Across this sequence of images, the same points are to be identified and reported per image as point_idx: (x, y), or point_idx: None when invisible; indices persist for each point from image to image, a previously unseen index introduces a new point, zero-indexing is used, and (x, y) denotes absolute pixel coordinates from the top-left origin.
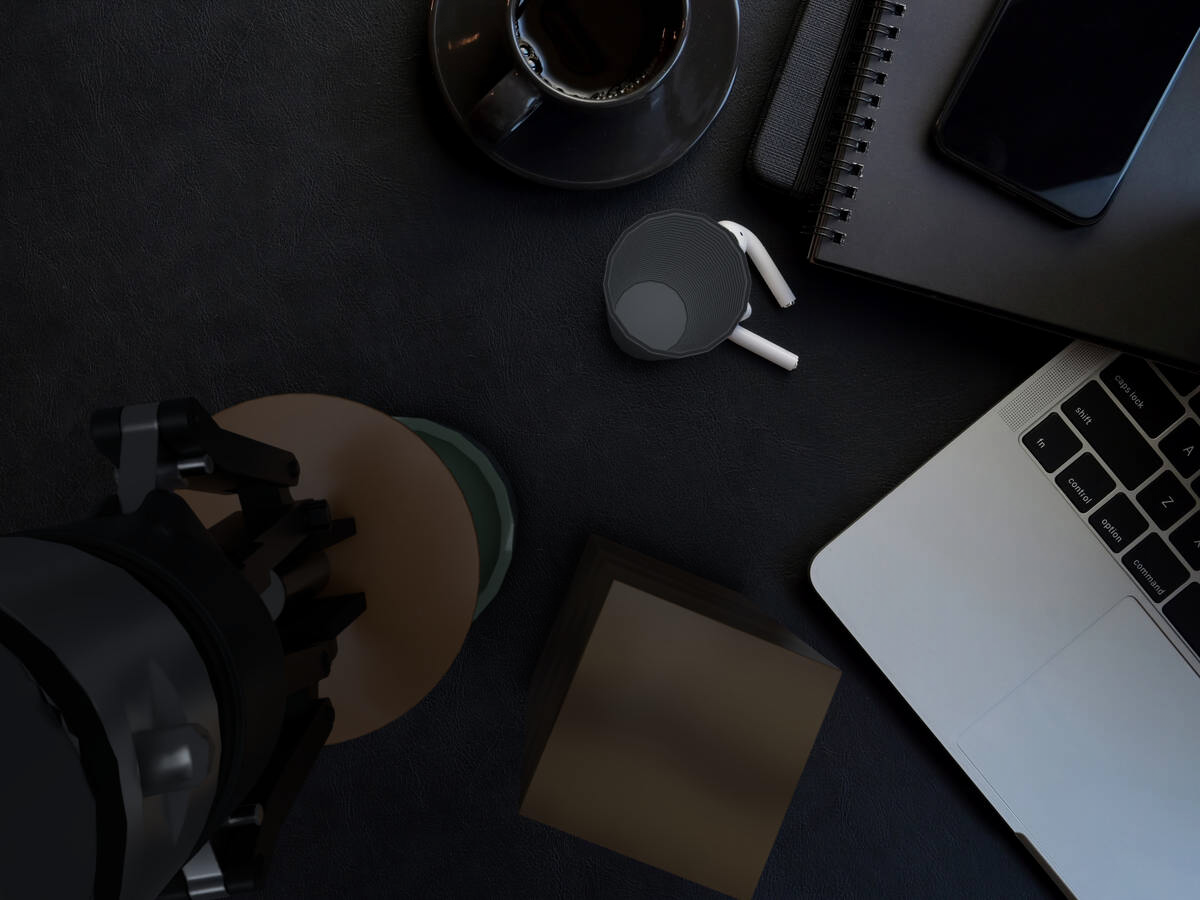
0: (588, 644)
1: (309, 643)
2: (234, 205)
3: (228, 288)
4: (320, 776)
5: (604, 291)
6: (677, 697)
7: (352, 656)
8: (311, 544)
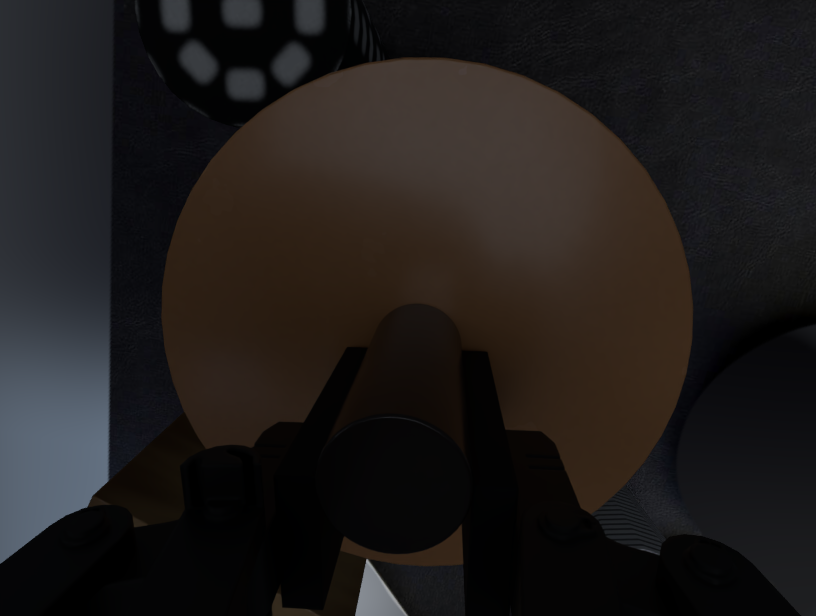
0: (281, 597)
1: (277, 584)
2: (768, 124)
3: (688, 106)
4: (214, 129)
5: (635, 543)
6: None
7: (285, 394)
8: (483, 610)
